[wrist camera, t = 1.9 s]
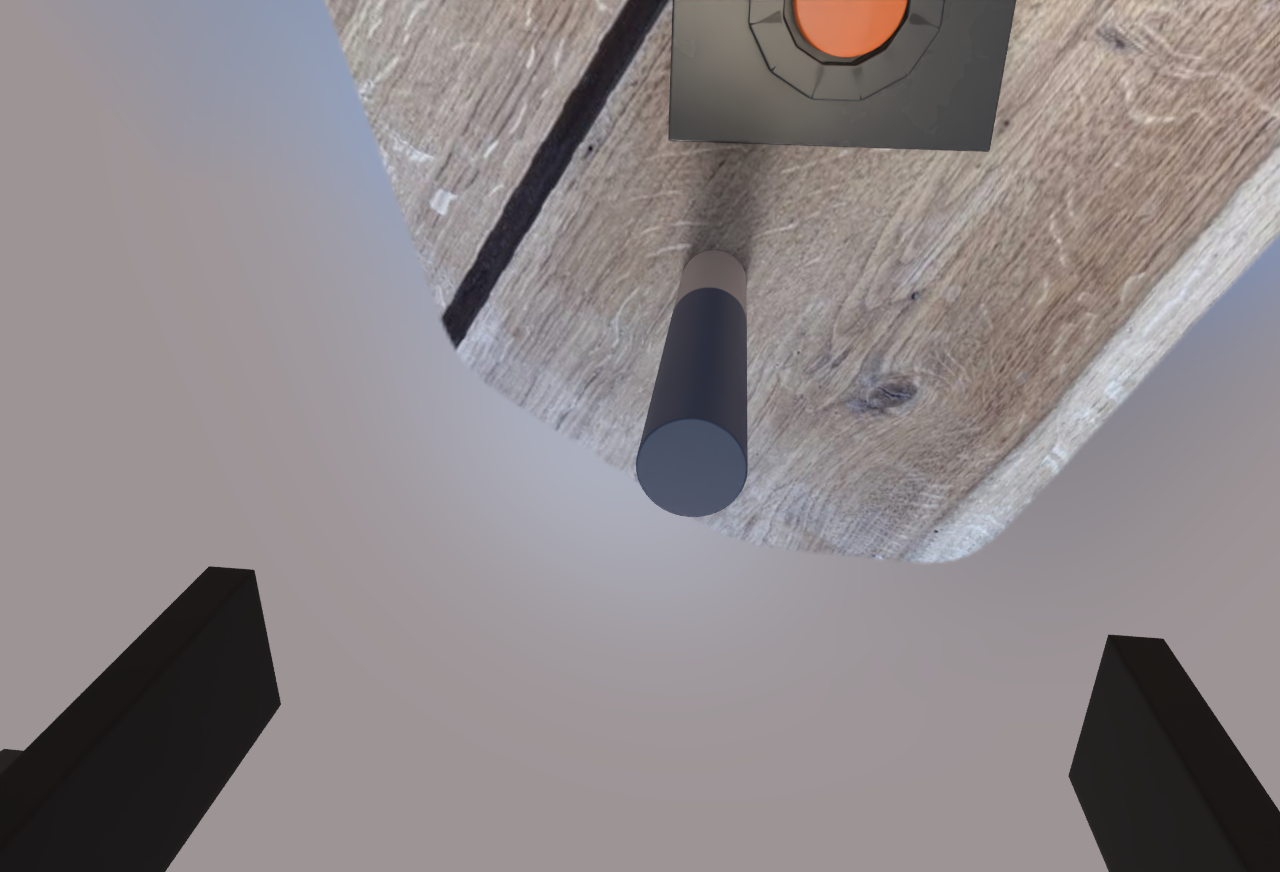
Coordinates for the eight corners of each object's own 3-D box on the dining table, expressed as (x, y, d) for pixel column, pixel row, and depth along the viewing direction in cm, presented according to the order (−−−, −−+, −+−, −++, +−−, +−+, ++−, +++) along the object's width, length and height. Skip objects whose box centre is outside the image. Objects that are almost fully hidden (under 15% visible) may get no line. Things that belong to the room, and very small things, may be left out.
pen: (680, 311, 39) (634, 513, 23) (682, 248, 38) (636, 414, 22) (744, 314, 39) (743, 521, 23) (748, 250, 38) (751, 421, 22)
